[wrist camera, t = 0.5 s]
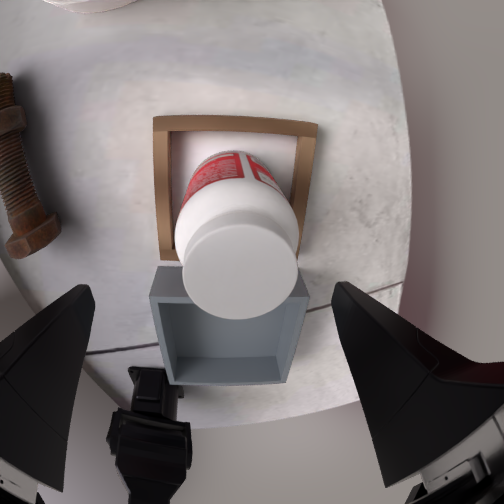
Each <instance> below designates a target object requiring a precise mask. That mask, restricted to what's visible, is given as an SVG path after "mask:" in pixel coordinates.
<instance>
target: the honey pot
mask: <svg viewBox="0 0 504 504" xmlns="http://www.w3.org/2000/svg"><path fill="white" fill-rule="evenodd" d="M43 1H45V2H48V3H50V4H53V5H55V6H58V7H60V8H63V9H65V10H68V11H71V12H77V13H83V14H87V13H97V12H105V11H108V10H112V9H115V8H119V7H123V6H126V5H128V4H130V3H132V2H134V1H137V0H43Z"/></svg>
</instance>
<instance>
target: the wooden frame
mask: <svg viewBox="0 0 504 504" xmlns="http://www.w3.org/2000/svg"><path fill="white" fill-rule="evenodd" d="M317 128H318V124H315V123H311V122H303V121H295V120H286V119H275V118H264V117H249V116H227V115H174V116H156V117H153V163H154V187H155V204H156V218H157V230H158V240H159V250H160V259H161V260H170V261H180V260H179V257H178V255H177V251H176V247H175V242H174V235H173V218H172V195H171V131H238V132H257V133H271V134H283V135H293V136H298V139H297V147H296V156H295V164H294V173H293V181H292V188H291V196H290V206H291V207H292V209H293V212H294V214H295V216H296V219H297V223H298V228H299V241H298V247H297V251H296V254H295V255H296V258H297V259H298V254H299V248H300V243H301V237H302V231H303V225H304V219H305V213H306V207H307V200H308V194H309V187H310V180H311V173H312V166H313V159H314V152H315V144H316V136H317Z"/></svg>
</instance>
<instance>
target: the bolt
mask: <svg viewBox="0 0 504 504" xmlns="http://www.w3.org/2000/svg"><path fill="white" fill-rule="evenodd" d="M12 82H13V80H12V76H11V75H10V74H9V73H7V74H5V73H0V191H1V193H0V195H3V196H2V199H4V200H3V202H5V204H4V206H7V207H6V209H5V210H8V211H7V215H8V221H9V223H10V226H11V229H12V231H13V234H12V235H11V237H10V238H9V240H8V241H7V243H6V244H5V247H6V249H7V251H8V253H9V256H10V257H11V258H15V259H23V258H25V257H27V256H29V255H31V254H33V253H35V252H37V251H39V250H40V249H42V248H44V247H46V246H47V245H48V244H49V243H51V242H52V241H53V240H54V239H55V238H56V237H57V236H58V235H59V234H60V233H61V224H60V221H59V218H58V216H57V213H56V212H54V213H51V214H49V215H46V214H45V212H44V209H43V206H42V204H41V201H40V200H39V198H38V197H37V193H35V192H36V190H35V189H34V188H35V186H32V185H33V184H34V183H33V182H31V181H32V180H33V179H30V178H31V175H29V173H30V171H28V169H29V167H27V165H28V163H26V162H27V160H25V158H26V156H24V154H25V152H23V150H24V148H22V147H23V145H22V144H21V143H22V142H23V141H20V140H21V138H22V137H20V135H21V134H20V132H21V131H22V130H24V129H25V127H26V125H27V121H26V116H25V111H24V109H23V107H22V106H20V105H16V104H14V103H15V100H14V97H13V96H14V94H13V92H14V90H12V89H13V86H12V85H13V83H12ZM15 105H16V106H15Z"/></svg>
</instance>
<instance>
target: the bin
mask: <svg viewBox="0 0 504 504" xmlns="http://www.w3.org/2000/svg"><path fill="white" fill-rule="evenodd" d="M182 271H183V267H159V266H158V268H157V271H156V274H155V278H154V281H153V284H152V287H151V291H150V294H149V299H150V304H151V309H152V314H153V319H154V324H155V328H156V333H157V337H158V341H159V345H160V349H161V354H162V357H163V361H164V365H165V369H166V373H167V376H168V380H169V383H170V384H172V385H197V386H238V385H263V384H279V383H286V380H287V377H288V373H289V370H290V367H291V363H292V360H293V357H294V353H295V350H296V346H297V343H298V339H299V335H300V332H301V328H302V324H303V321H304V317H305V313H306V309H307V305H308V301H309V297H310V296H309V294H308V291H307V289H306V286H305V284H304V281H303V279H302V276H301V274H300V271H299V269H298V277H297V281H296V284H295V286H294V288H293V290H292V292H291V293H290V295H289V296H288V297H287V298H286V299H285V301H284V302H282V303H281V304H280V305H279V306H278V307H276V308H275V309H273V310H272V311H270V312H267V313H265V314H263V315H260V316H257V317H254V318H249V319H225V318H221V317H217V316H214V315H211V314H209V313H207V312H206V311H204V310H202V309H201V308H200V307H198V306H197V305H196V304H195V303H194V302H193V301H192V299H191V298H190V297H189V295H188V293H187V291H186V289H185V286H184V283H183V277H182Z"/></svg>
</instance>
